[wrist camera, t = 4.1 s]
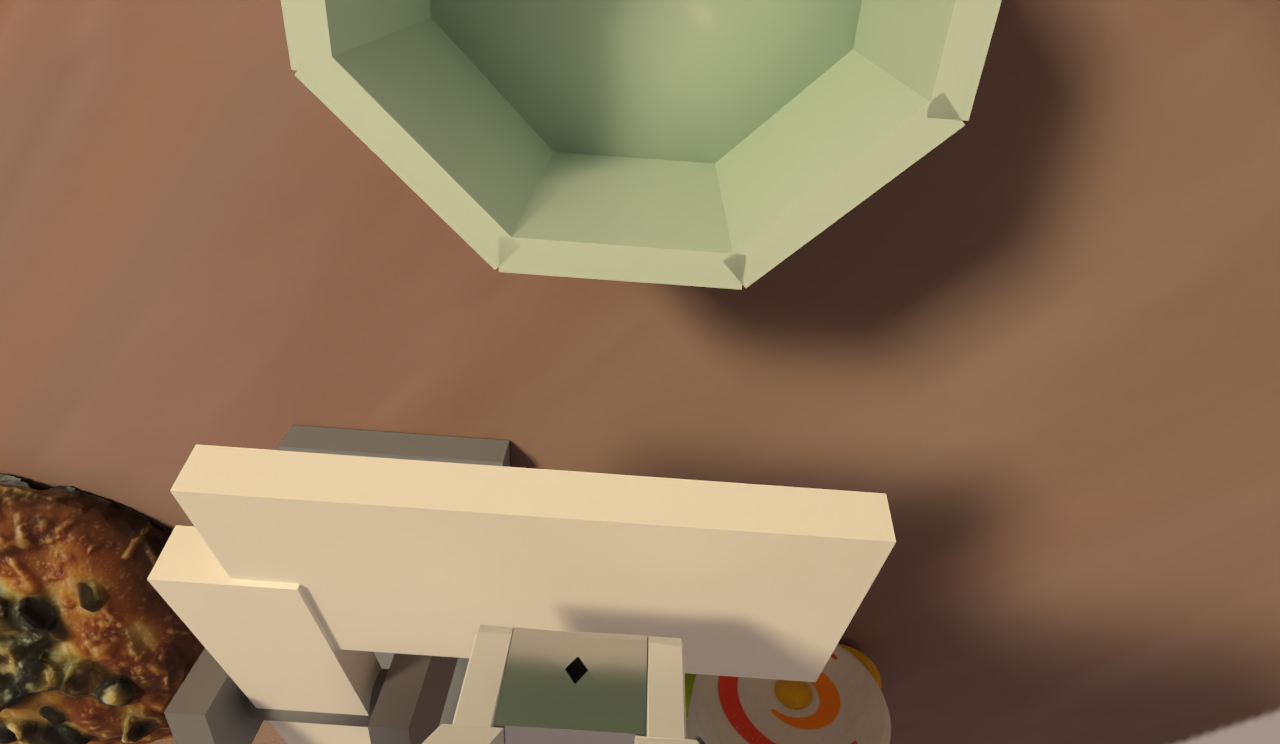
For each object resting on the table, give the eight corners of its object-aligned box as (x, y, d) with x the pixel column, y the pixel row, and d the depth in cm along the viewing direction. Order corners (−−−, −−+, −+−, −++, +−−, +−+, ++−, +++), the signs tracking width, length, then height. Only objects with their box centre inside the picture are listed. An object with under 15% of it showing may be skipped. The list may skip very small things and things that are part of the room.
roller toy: (686, 599, 24) (691, 773, 19) (884, 613, 24) (940, 790, 19) (672, 689, 27) (674, 866, 22) (854, 702, 27) (897, 882, 22)
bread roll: (320, 630, 26) (229, 778, 21) (149, 707, 30) (48, 840, 26) (29, 391, 22) (-152, 516, 17) (-114, 524, 26) (-283, 646, 22)
